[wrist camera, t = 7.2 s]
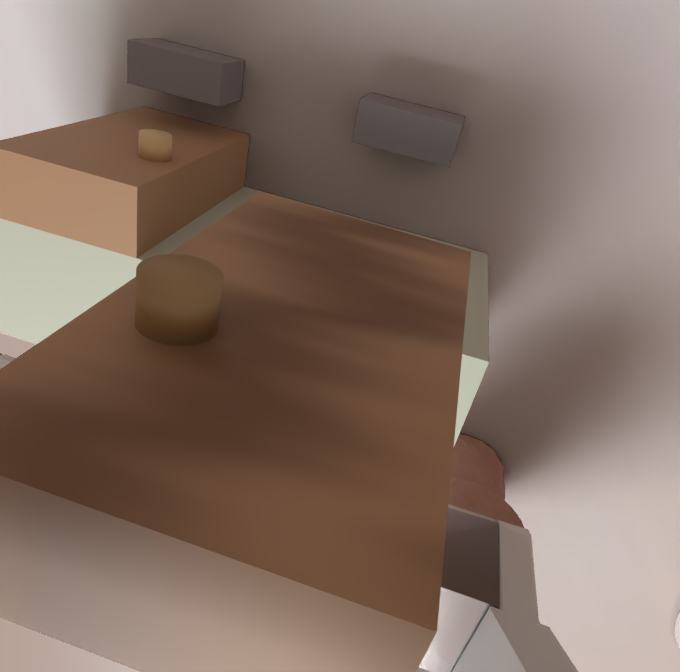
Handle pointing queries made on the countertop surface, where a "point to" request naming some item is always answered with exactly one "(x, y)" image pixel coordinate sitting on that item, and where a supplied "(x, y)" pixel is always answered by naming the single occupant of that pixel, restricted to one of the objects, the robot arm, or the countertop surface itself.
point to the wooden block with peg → (242, 452)
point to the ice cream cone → (479, 483)
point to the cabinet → (170, 194)
